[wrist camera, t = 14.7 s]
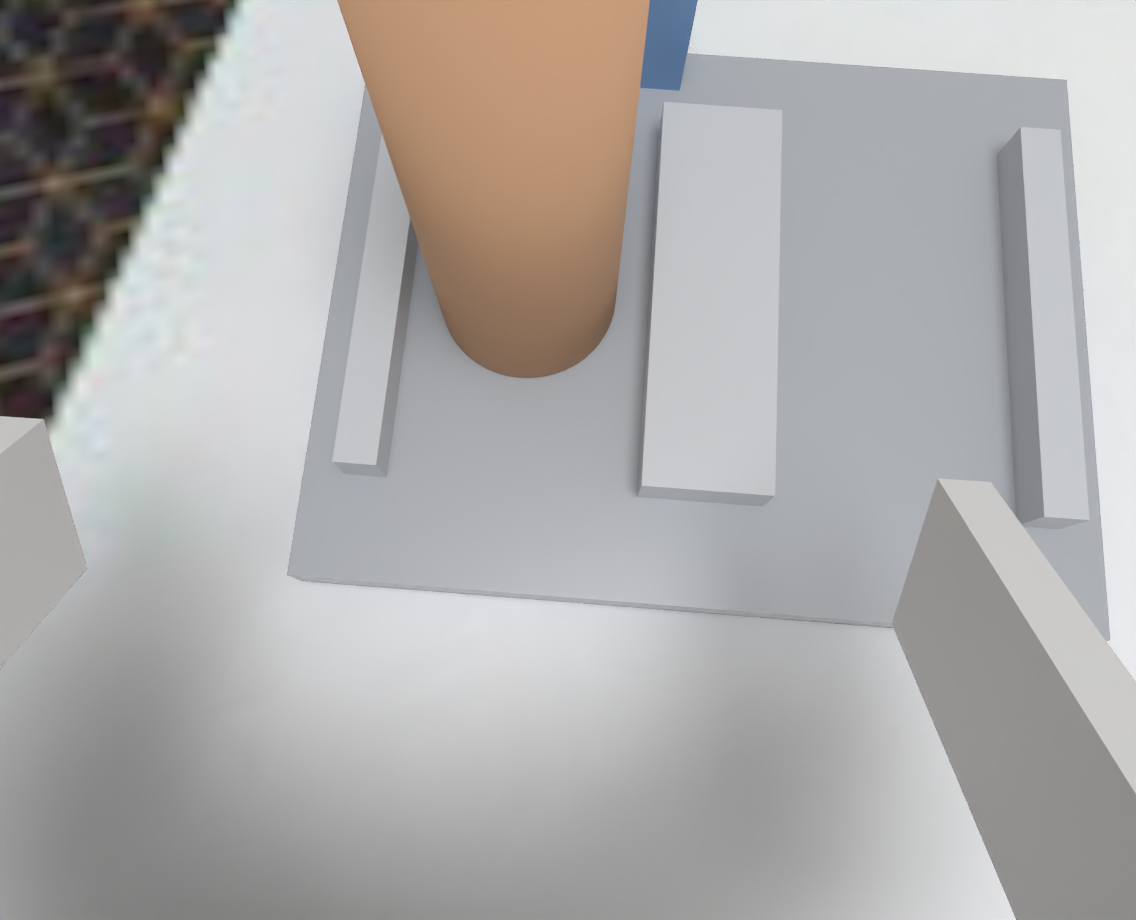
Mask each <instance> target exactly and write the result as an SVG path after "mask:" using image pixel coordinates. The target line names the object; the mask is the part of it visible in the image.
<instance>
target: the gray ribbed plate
mask: <svg viewBox="0 0 1136 920" xmlns="http://www.w3.org/2000/svg"><path fill="white" fill-rule="evenodd" d="M696 5H697V0H650V4H649V13H648V21H647V30H646V39H645V48H644V57H643V65H642V74H641V83H640V92H639V101H638V110H637V118H636V127H635V136H634V145H633V154H632V162H631V171H630V180H629V189H628V198H627V206H626V215H625V224H624V233H623V242H622V250H621V259H620V268H619V277H618V286H617V294H616V303H615V310H614V315H613V318H612V321H611V324H610V326H609V328H608V331H607V333H606V334H605V336H604V338H603V339H602V341H601V342H600V343H599V345H598V346H597V347H596V348H595V349H594V350H593V351H592V352H591V353H590V354H589V355H588V356H587V357H586V358H584V359H583V360H581V361H580V362H579V363H577V364H576V365H574V366H572V367H570V368H568V369H566V370H563V371H561V372H558V373H555V374H551V375H547V376H542V377H532V378H527V377H514V376H507V375H504V374H500V373H497V372H494V371H492V370H489V369H487V368H485V367H483V366H482V365H480V364H478V363H476V362H475V361H474V360H473V359H471V358H470V357H469V356H467V355H466V354H465V353H464V352H463V351H462V350H461V349H460V347H459V346H458V345H457V343H456V342H455V341H454V339H453V338H452V336H451V334H450V332H449V330H448V328H447V325H446V323H445V320H444V317H443V314H442V311H441V308H440V305H439V302H438V299H437V296H436V293H435V290H434V287H433V284H432V281H431V278H430V275H429V272H428V269H427V266H426V263H425V260H424V257H423V254H422V251H421V248H420V245H419V242H418V239H417V236H416V233H415V230H414V228H413V225H412V222H411V219H410V216H409V213H408V210H407V207H406V204H405V201H404V198H403V195H402V192H401V189H400V186H399V183H398V180H397V177H396V174H395V171H394V168H393V165H392V162H391V159H390V156H389V153H388V150H387V147H386V144H385V141H384V138H383V135H382V132H381V129H380V126H379V123H378V120H377V117H376V114H375V111H374V108H373V105H372V102H371V99H370V96H369V93H368V90H367V87H366V84H365V90H364V96H363V102H362V109H361V115H360V121H359V127H358V134H357V140H356V146H355V152H354V159H353V165H352V171H351V177H350V184H349V190H348V196H347V203H346V209H345V215H344V221H343V228H342V234H341V240H340V246H339V253H338V259H337V265H336V272H335V278H334V284H333V290H332V297H331V303H330V309H329V315H328V322H327V328H326V334H325V340H324V347H323V353H322V359H321V366H320V372H319V378H318V384H317V391H316V397H315V403H314V409H313V416H312V422H311V428H310V435H309V441H308V447H307V453H306V460H305V466H304V472H303V478H302V485H301V491H300V497H299V504H298V510H297V516H296V522H295V529H294V535H293V541H292V547H291V554H290V560H289V566H288V572H287V575H288V576H291V577H294V578H296V579H299V580H302V581H311V582H324V583H336V584H349V585H362V586H374V587H387V588H399V589H412V590H425V591H437V592H450V593H462V594H475V595H488V596H500V597H513V598H525V599H538V600H551V601H563V602H576V603H588V604H601V605H614V606H626V607H639V608H651V609H664V610H677V611H689V612H702V613H714V614H727V615H740V616H752V617H765V618H777V619H790V620H803V621H815V622H828V623H840V624H853V625H866V626H878V627H891V628H893V625H892V621H893V618H894V615H895V612H896V609H897V605H898V602H899V599H900V596H901V593H902V590H903V586H904V583H905V580H906V577H907V574H908V571H909V567H910V564H911V561H912V558H913V555H914V552H915V548H916V545H917V542H918V539H919V536H920V533H921V529H922V526H923V523H924V520H925V517H926V514H927V510H928V507H929V504H930V501H931V498H932V495H933V491H934V488H935V485H936V482H937V479H938V478H940V479H955V480H970V481H985V482H991V483H992V484H993V486H994V487H995V489H996V490H997V491H998V493H999V494H1000V495H1001V497H1002V498H1003V500H1004V501H1005V502H1006V504H1007V505H1008V507H1009V508H1010V509H1011V511H1012V512H1013V513H1014V515H1015V516H1016V518H1017V519H1018V520H1019V522H1020V523H1021V524H1022V526H1023V527H1024V529H1025V530H1026V531H1027V533H1028V534H1029V535H1030V537H1031V538H1032V540H1033V541H1034V542H1035V544H1036V545H1037V546H1038V548H1039V549H1040V551H1041V552H1042V553H1043V555H1044V556H1045V558H1046V559H1047V560H1048V562H1049V563H1050V564H1051V566H1052V567H1053V569H1054V570H1055V571H1056V573H1057V574H1058V575H1059V577H1060V578H1061V580H1062V581H1063V582H1064V584H1065V585H1066V586H1067V588H1068V589H1069V591H1070V592H1071V593H1072V595H1073V596H1074V598H1075V599H1076V600H1077V602H1078V603H1079V604H1080V606H1081V607H1082V609H1083V610H1084V611H1085V613H1086V614H1087V615H1088V617H1089V618H1090V620H1091V621H1092V622H1093V624H1094V625H1095V626H1096V628H1097V629H1098V631H1099V632H1100V633H1101V635H1102V636H1103V637H1104V639H1105V640H1106V641H1108V640H1110V632H1109V619H1108V606H1107V593H1106V580H1105V567H1104V554H1103V542H1102V529H1101V516H1100V503H1099V490H1098V477H1097V464H1096V452H1095V439H1094V426H1093V413H1092V400H1091V387H1090V374H1089V362H1088V349H1087V336H1086V323H1085V310H1084V297H1083V285H1082V272H1081V259H1080V246H1079V233H1078V220H1077V207H1076V195H1075V182H1074V169H1073V156H1072V143H1071V130H1070V117H1069V105H1068V92H1067V80H1060V79H1046V78H1031V77H1017V76H1003V75H988V74H974V73H960V72H945V71H931V70H917V69H902V68H888V67H874V66H859V65H845V64H831V63H816V62H802V61H788V60H773V59H759V58H745V57H730V56H716V55H702V54H687V51H688V46H689V41H690V36H691V31H692V26H693V21H694V16H695V10H696Z"/></svg>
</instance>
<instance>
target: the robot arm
mask: <svg viewBox="0 0 1136 920" xmlns="http://www.w3.org/2000/svg"><path fill="white" fill-rule="evenodd" d="M86 569H87V566H86V562H85V559H84V555H83V552H82V549H81V545H80V542H79V538H78V535H77V532H76V528H75V525H74V521H73V518H72V515H71V511H70V508H69V504H68V501H67V498H66V494H65V491H64V487H63V484H62V481H61V477H60V474H59V470H58V467H57V464H56V460H55V457H54V453H53V450H52V447H51V443H50V440H49V436H48V433H47V430H46V426H45V423H44V419H32V418H17V417H2V416H0V669H1V667H2V666H3V665H4V664H5V663H6V662H7V661H8V659H9V658H10V657H11V656H12V655H13V654H14V652H15V651H16V650H17V649H18V648H19V647H20V646H21V644H22V643H23V642H24V641H25V640H26V639H27V637H28V636H29V635H30V634H31V633H32V632H33V631H34V629H35V628H36V627H37V626H38V625H39V624H40V622H41V621H42V620H43V619H44V618H45V617H46V616H47V614H48V613H49V612H50V611H51V610H52V609H53V607H54V606H55V605H56V604H57V603H58V602H59V601H60V599H61V598H62V597H63V596H64V595H65V594H66V592H67V591H68V590H69V589H70V588H71V587H72V586H73V584H74V583H75V582H76V581H77V580H78V579H79V577H80V576H81V575H82V574H83V573H84V572H85V571H86ZM892 625H893V628H894V630H895V632H896V635H897V637H898V640H899V642H900V644H901V647H902V649H903V651H904V654H905V656H906V659H907V661H908V663H909V666H910V668H911V670H912V673H913V675H914V678H915V680H916V682H917V685H918V687H919V689H920V692H921V694H922V697H923V699H924V701H925V704H926V706H927V709H928V711H929V713H930V716H931V718H932V720H933V723H934V725H935V728H936V730H937V732H938V735H939V737H940V739H941V742H942V744H943V747H944V749H945V751H946V754H947V756H948V758H949V761H950V763H951V766H952V768H953V770H954V773H955V775H956V777H957V780H958V782H959V785H960V787H961V789H962V792H963V794H964V796H965V799H966V801H967V804H968V806H969V808H970V811H971V813H972V815H973V818H974V820H975V823H976V825H977V827H978V830H979V832H980V834H981V837H982V839H983V842H984V844H985V846H986V849H987V851H988V853H989V856H990V858H991V861H992V863H993V865H994V868H995V870H996V872H997V875H998V877H999V880H1000V882H1001V884H1002V887H1003V889H1004V892H1005V894H1006V896H1007V899H1008V901H1009V903H1010V906H1011V908H1012V911H1013V913H1014V915H1015V918H1016V920H1136V682H1135V680H1134V679H1133V677H1132V676H1131V675H1130V673H1129V672H1128V671H1127V669H1126V668H1125V666H1124V665H1123V664H1122V662H1121V661H1120V660H1119V658H1118V657H1117V655H1116V654H1115V653H1114V651H1113V650H1112V649H1111V647H1110V646H1109V644H1108V643H1107V642H1106V640H1105V639H1104V637H1103V636H1102V635H1101V633H1100V632H1099V631H1098V629H1097V628H1096V626H1095V625H1094V624H1093V622H1092V621H1091V620H1090V618H1089V617H1088V615H1087V614H1086V613H1085V611H1084V610H1083V609H1082V607H1081V606H1080V604H1079V603H1078V602H1077V600H1076V599H1075V598H1074V596H1073V595H1072V593H1071V592H1070V591H1069V589H1068V588H1067V586H1066V585H1065V584H1064V582H1063V581H1062V580H1061V578H1060V577H1059V575H1058V574H1057V573H1056V571H1055V570H1054V569H1053V567H1052V566H1051V564H1050V563H1049V562H1048V560H1047V559H1046V558H1045V556H1044V555H1043V553H1042V552H1041V551H1040V549H1039V548H1038V546H1037V545H1036V544H1035V542H1034V541H1033V540H1032V538H1031V537H1030V535H1029V534H1028V533H1027V531H1026V530H1025V529H1024V527H1023V526H1022V524H1021V523H1020V522H1019V520H1018V519H1017V518H1016V516H1015V515H1014V513H1013V512H1012V511H1011V509H1010V508H1009V507H1008V505H1007V504H1006V502H1005V501H1004V500H1003V498H1002V497H1001V495H1000V494H999V493H998V491H997V490H996V489H995V487H994V486H993V484H992V483H991V482H985V481H970V480H955V479H940V478H938V479H937V482H936V485H935V488H934V491H933V495H932V498H931V501H930V504H929V507H928V510H927V514H926V517H925V520H924V523H923V526H922V529H921V533H920V536H919V539H918V542H917V545H916V548H915V552H914V555H913V558H912V561H911V564H910V567H909V571H908V574H907V577H906V580H905V583H904V586H903V590H902V593H901V596H900V599H899V602H898V605H897V609H896V612H895V615H894V618H893V621H892Z"/></svg>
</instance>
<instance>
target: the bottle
mask: <svg viewBox="0 0 1136 920" xmlns="http://www.w3.org/2000/svg"><path fill="white" fill-rule="evenodd" d="M337 1H338V4H339V7H340V10H341V12H342V15H343V18H344V21H345V24H346V27H347V30H348V33H349V36H350V39H351V42H352V45H353V48H354V51H355V54H356V57H357V60H358V63H359V66H360V69H361V72H362V75H363V78H364V81H365V84H366V87H367V90H368V93H369V96H370V99H371V102H372V105H373V108H374V111H375V114H376V117H377V120H378V123H379V126H380V129H381V132H382V135H383V138H384V141H385V144H386V147H387V150H388V153H389V156H390V159H391V162H392V165H393V168H394V171H395V174H396V177H397V180H398V183H399V186H400V189H401V192H402V195H403V198H404V201H405V204H406V207H407V210H408V213H409V216H410V219H411V222H412V225H413V228H414V230H415V233H416V236H417V239H418V242H419V245H420V248H421V251H422V254H423V257H424V260H425V263H426V266H427V269H428V272H429V275H430V278H431V281H432V284H433V287H434V290H435V293H436V296H437V299H438V302H439V305H440V308H441V311H442V314H443V317H444V320H445V323H446V325H447V328H448V330H449V332H450V334H451V336H452V338H453V339H454V341H455V342H456V343H457V345H458V346H459V347H460V349H461V350H462V351H463V352H464V353H465V354H466V355H467V356H469V357H470V358H471V359H473V360H474V361H475V362H476V363H478V364H480V365H482V366H483V367H485V368H487V369H489V370H492V371H494V372H497V373H500V374H504V375H507V376H514V377H527V378H532V377H542V376H547V375H551V374H555V373H558V372H561V371H563V370H566V369H568V368H570V367H572V366H574V365H576V364H577V363H579V362H580V361H581V360H583V359H584V358H586V357H587V356H588V355H589V354H590V353H591V352H592V351H593V350H594V349H595V348H596V347H597V346H598V345H599V343H600V342H601V341H602V339H603V338H604V336H605V334H606V333H607V331H608V328H609V326H610V324H611V321H612V318H613V315H614V310H615V303H616V294H617V286H618V277H619V268H620V259H621V250H622V242H623V233H624V224H625V215H626V206H627V198H628V189H629V180H630V171H631V162H632V154H633V145H634V136H635V127H636V118H637V110H638V101H639V92H640V83H641V74H642V65H643V57H644V48H645V39H646V30H647V21H648V13H649V4H650V0H337Z"/></svg>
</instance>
